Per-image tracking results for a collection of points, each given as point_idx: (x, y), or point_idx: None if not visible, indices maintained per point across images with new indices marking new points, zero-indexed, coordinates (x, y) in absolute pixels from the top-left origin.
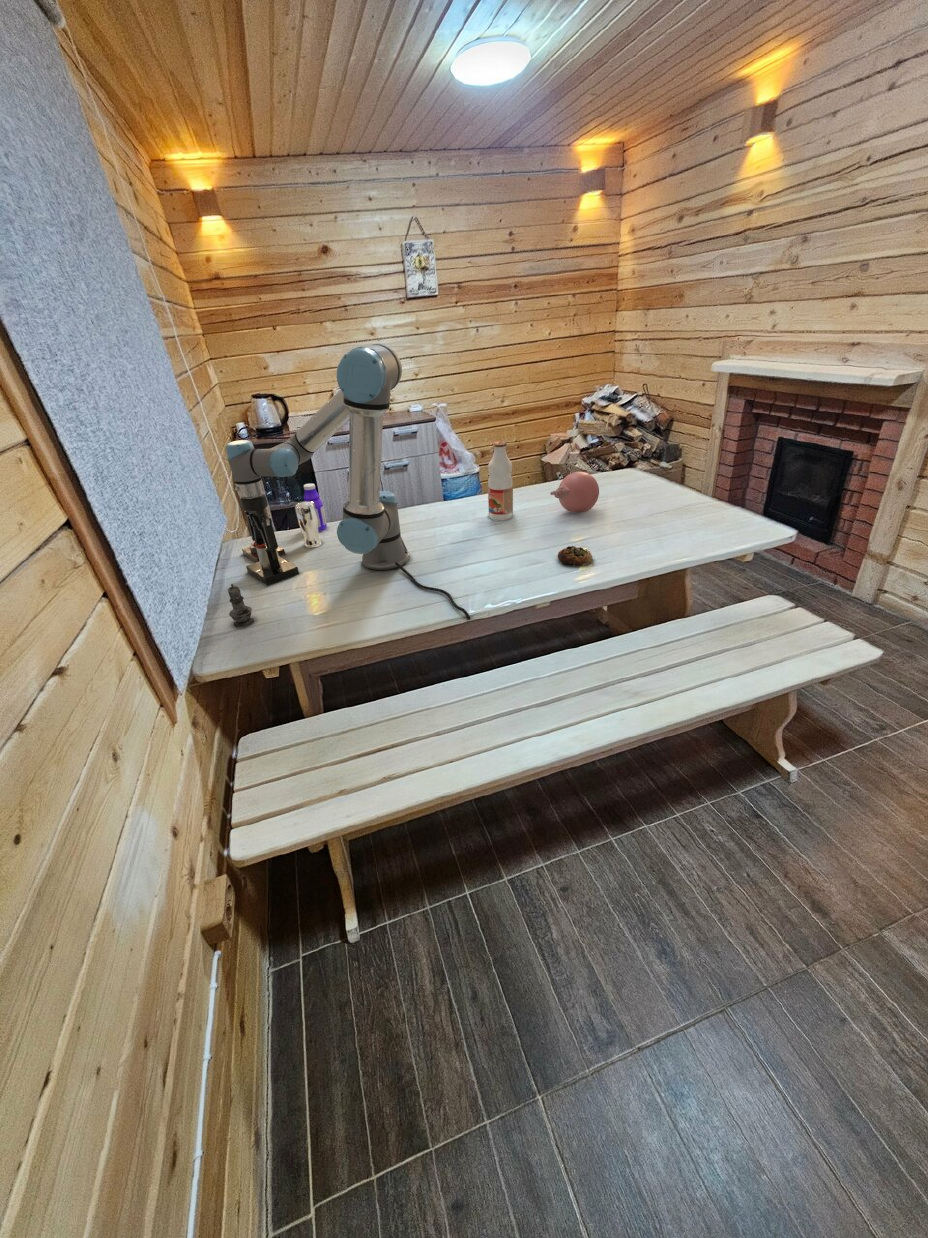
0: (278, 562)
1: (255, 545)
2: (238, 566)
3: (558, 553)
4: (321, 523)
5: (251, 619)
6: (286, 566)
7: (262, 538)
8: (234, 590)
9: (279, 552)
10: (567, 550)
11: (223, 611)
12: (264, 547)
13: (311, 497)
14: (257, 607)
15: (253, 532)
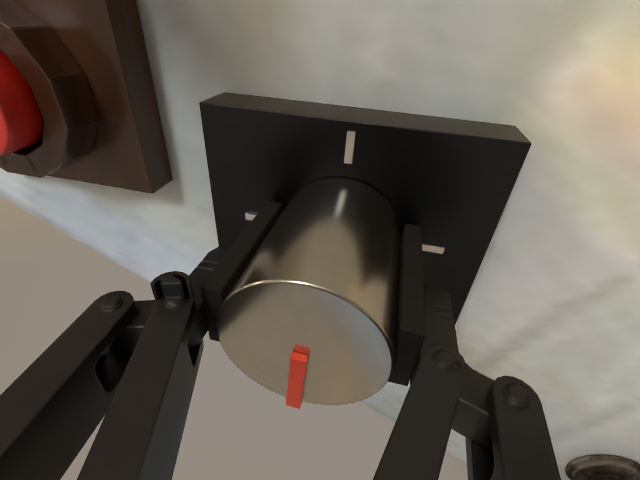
0: (421, 250)
1: (15, 150)
2: (144, 242)
3: None
4: None
5: (633, 472)
6: (436, 184)
7: (186, 332)
8: None
9: (122, 26)
10: None
11: (459, 444)
12: (353, 387)
13: None
14: (569, 412)
15: (99, 408)
